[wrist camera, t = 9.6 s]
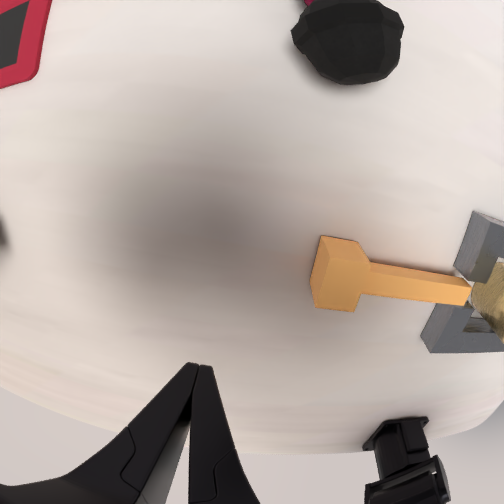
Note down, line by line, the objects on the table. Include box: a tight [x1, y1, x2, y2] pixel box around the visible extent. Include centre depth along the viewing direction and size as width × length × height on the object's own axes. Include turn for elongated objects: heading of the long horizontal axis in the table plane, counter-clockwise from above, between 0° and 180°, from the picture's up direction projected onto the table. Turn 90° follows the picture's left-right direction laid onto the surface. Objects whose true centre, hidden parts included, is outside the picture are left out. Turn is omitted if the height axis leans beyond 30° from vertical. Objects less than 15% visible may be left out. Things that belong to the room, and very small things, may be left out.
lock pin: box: [310, 236, 472, 312], centre depth 17 cm, size 3×11×3 cm, turn 81°
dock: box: [421, 211, 504, 353], centre depth 18 cm, size 11×11×2 cm
